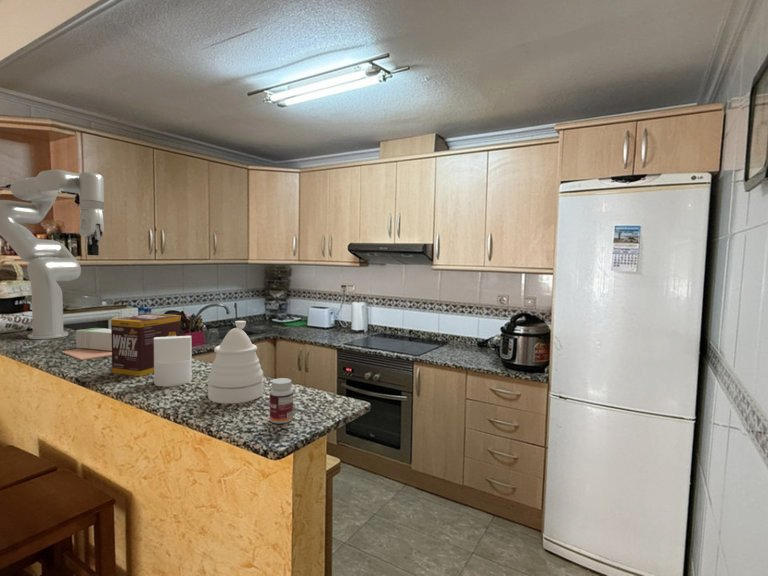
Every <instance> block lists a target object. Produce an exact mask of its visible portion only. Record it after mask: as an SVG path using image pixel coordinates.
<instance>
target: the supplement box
mask: <svg viewBox="0 0 768 576" xmlns="http://www.w3.org/2000/svg"><path fill="white" fill-rule="evenodd" d="M181 320H182V317H181V315H179V314H169V313H167V314H166V313H155V312H154V313H147V314H140V315H133V316H126V317H118V318H111V319H110V321H111V323H110V324H111V325H110V329H111V337H112V356H111V373H112V374H118V375H126V376H133V377H143V376H146V375H150V374H154V338H155V337H172V336H182V334H181V333H182V332H181V329H182V328H181V327H182V326H181V325H182V324H181Z"/></svg>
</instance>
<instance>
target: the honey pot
mask: <svg viewBox="0 0 768 576" xmlns="http://www.w3.org/2000/svg"><path fill="white" fill-rule="evenodd" d="M246 324H247V321H246V320H235V321H234V325H235V326H236V327H234V328H232V329H230V330H228V332H227V333H226V335H225V336H224V338H223V339H222V341H221V342H220V345H217V346H216V347H214V349H213V350H214V353H216V355H215V358H214V360H213V361H212V366H211V368H210V372H209V373H208V375H207V379H208V380H207V398H208V399H209V400H210V401H211V402H213V403H214V402H215V403H218V404H219V403H220V404H239V403H240V404H241V403H246V402H251V401H254V400H256V399H258V398H261V397H262V396H263V394H264V370H263V369H262V367H261V363H260V358H259V357H258V355H257V353H256V351H257V350H258V347H257V345H255V344H253V343H252V341H251V339H250V337H249V336H248V335H247V333H246V332H245V331H244V330H243V329H245V327H246Z"/></svg>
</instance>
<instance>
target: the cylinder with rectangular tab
mask: <svg viewBox="0 0 768 576" xmlns="http://www.w3.org/2000/svg"><path fill="white" fill-rule="evenodd" d="M192 368H193V367H192V335H181V336H172V337H155V338H154V373H153V383H154V385H155V386H157V387H175V386H176V387H177V386H181V385H185V384H188V383H190V382H191V381H192Z"/></svg>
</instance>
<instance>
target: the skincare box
mask: <svg viewBox="0 0 768 576" xmlns="http://www.w3.org/2000/svg"><path fill="white" fill-rule="evenodd" d="M75 333H76V335H75V348H76V349H81V348H86V349H97V350H108V351H112V337H111V328H104V327H102V328H101V327H93V328H85V329H84V328H83V329H77V330H75Z"/></svg>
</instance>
